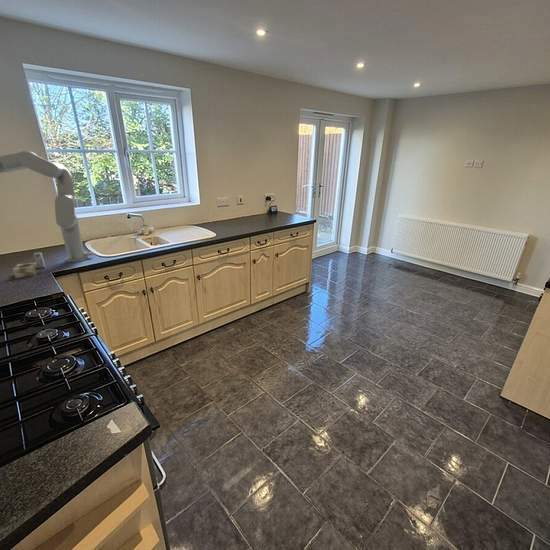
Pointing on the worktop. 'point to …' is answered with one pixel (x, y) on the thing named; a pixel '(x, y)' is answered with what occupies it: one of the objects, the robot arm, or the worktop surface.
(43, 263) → the grey upright block
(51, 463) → the worktop surface
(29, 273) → the socket block
